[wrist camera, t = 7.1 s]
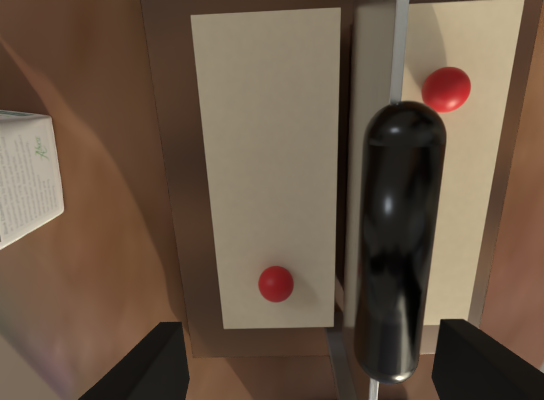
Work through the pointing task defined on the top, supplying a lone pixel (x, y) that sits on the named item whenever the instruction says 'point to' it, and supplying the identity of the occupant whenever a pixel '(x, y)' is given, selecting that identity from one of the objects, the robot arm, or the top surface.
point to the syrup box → (27, 174)
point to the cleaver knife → (387, 203)
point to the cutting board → (196, 199)
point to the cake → (324, 149)
